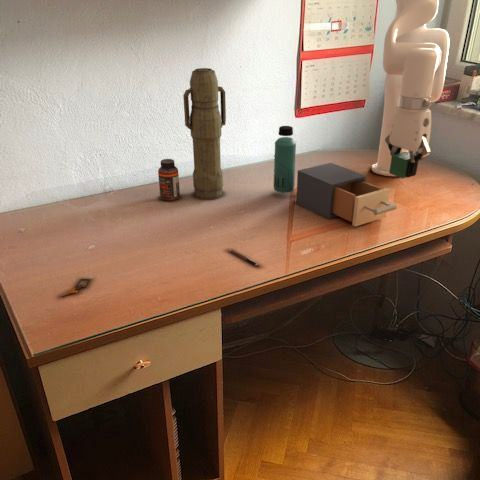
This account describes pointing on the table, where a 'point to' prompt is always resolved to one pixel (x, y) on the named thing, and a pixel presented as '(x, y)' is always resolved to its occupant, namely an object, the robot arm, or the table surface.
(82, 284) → the key tag
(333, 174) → the cabinet
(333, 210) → the drawer
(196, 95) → the thermos
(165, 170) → the supplement bottle
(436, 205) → the table surface
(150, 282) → the table surface
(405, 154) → the block
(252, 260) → the pen
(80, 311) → the table surface
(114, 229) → the table surface
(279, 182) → the beverage bottle
